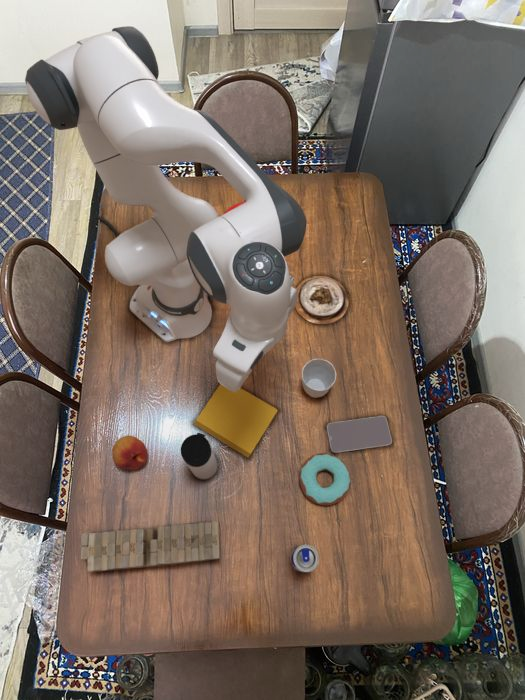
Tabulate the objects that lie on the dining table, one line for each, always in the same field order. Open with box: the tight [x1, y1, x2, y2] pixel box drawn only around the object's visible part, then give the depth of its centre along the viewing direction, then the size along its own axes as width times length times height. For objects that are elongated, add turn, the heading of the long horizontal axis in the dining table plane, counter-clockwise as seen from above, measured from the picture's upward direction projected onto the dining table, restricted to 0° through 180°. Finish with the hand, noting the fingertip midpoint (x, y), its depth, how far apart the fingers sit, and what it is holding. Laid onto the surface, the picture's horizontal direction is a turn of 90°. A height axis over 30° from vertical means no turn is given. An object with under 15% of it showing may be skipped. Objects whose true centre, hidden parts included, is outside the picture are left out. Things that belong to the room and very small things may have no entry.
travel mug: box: [180, 432, 219, 480], centre depth 115 cm, size 6×7×20 cm
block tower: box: [80, 520, 221, 572], centre depth 113 cm, size 8×8×29 cm
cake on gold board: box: [294, 275, 349, 325], centre depth 140 cm, size 15×15×4 cm
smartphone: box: [326, 415, 393, 454], centre depth 126 cm, size 7×1×15 cm
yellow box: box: [192, 383, 279, 459], centre depth 128 cm, size 16×14×1 cm
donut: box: [298, 452, 352, 506], centre depth 121 cm, size 12×12×4 cm
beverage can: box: [289, 544, 320, 573], centre depth 109 cm, size 5×5×15 cm
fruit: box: [111, 435, 149, 470], centre depth 121 cm, size 8×8×8 cm
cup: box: [301, 358, 337, 398], centre depth 127 cm, size 8×8×10 cm
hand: (259, 353), depth 94 cm, fingers open, 8 cm apart
